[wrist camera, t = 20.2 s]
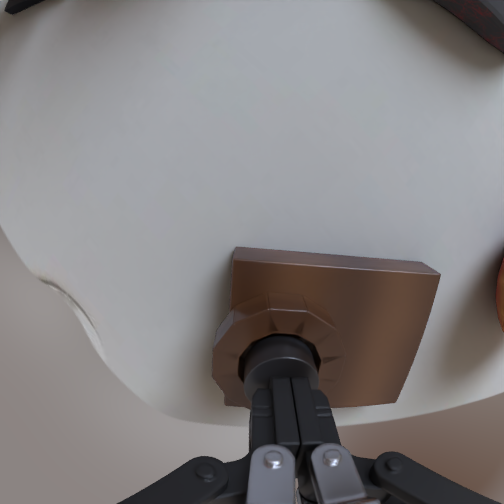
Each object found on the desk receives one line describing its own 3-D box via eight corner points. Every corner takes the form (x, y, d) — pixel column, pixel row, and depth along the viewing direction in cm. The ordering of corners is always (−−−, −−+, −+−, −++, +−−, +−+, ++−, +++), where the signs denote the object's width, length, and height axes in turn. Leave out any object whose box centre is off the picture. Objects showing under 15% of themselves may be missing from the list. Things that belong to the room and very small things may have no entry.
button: (242, 386, 14) (241, 411, 12) (247, 332, 13) (246, 355, 11) (306, 389, 14) (311, 412, 12) (318, 336, 13) (326, 358, 11)
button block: (218, 382, 18) (211, 426, 14) (224, 245, 16) (215, 270, 12) (385, 383, 18) (405, 421, 14) (422, 261, 16) (460, 286, 12)
